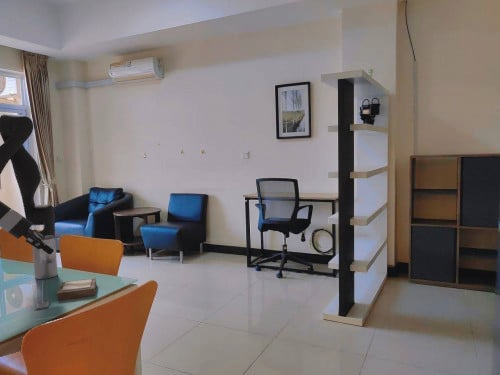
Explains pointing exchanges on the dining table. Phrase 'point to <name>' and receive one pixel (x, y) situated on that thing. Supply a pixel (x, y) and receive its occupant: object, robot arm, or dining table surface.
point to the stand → (77, 289)
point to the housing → (44, 256)
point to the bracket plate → (42, 305)
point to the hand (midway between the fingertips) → (52, 250)
